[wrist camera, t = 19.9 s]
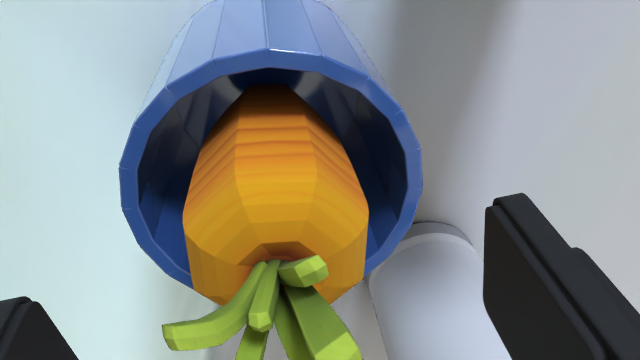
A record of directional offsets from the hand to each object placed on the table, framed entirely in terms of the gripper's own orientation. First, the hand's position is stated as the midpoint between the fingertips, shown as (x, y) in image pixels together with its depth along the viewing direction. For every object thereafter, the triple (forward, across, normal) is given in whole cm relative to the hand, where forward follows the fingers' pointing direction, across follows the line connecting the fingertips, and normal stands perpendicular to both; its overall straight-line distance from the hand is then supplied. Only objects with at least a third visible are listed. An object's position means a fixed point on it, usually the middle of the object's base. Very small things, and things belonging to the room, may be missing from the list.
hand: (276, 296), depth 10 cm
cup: (+13, 0, +1) cm, 13 cm away
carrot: (+13, 0, +1) cm, 13 cm away
